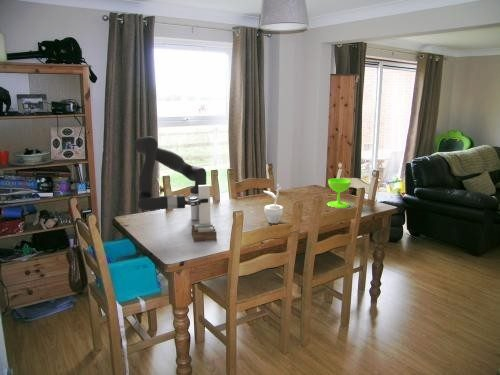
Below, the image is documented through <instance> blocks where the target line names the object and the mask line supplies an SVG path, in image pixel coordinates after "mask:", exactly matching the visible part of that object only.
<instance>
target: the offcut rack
mask: <svg viewBox="0 0 500 375" xmlns="http://www.w3.org/2000/svg"><path fill="white" fill-rule="evenodd" d="M194 225H195V224H191V235H192V240H193V242H194V243H199V242H210V241H211V242H213V241H217V230H216V228H215V226H214V225H213V231H210V232H198V230H194Z"/></svg>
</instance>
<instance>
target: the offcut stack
mask: <svg viewBox="0 0 500 375" xmlns="http://www.w3.org/2000/svg"><path fill="white" fill-rule="evenodd" d="M193 225H194V230H198V232H210V231H213V226H214V224H213V223H211V224H200V223H199V224H193Z"/></svg>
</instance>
